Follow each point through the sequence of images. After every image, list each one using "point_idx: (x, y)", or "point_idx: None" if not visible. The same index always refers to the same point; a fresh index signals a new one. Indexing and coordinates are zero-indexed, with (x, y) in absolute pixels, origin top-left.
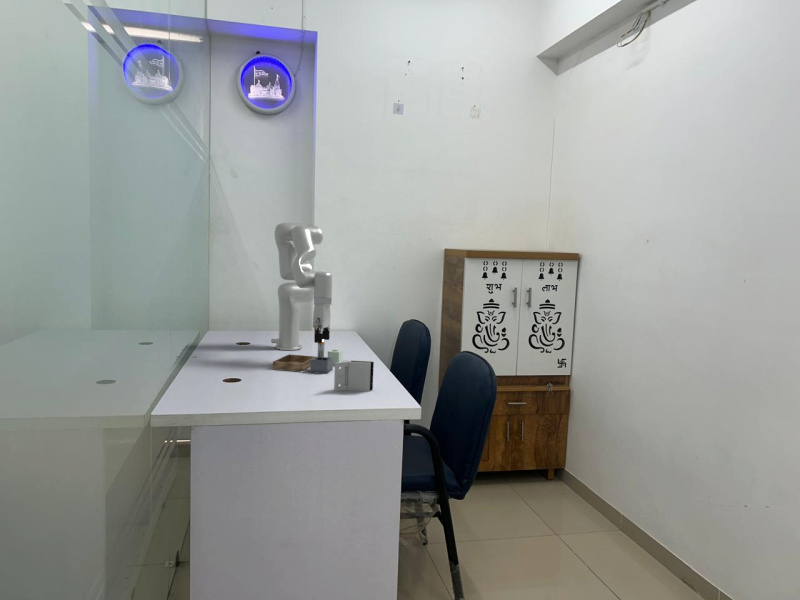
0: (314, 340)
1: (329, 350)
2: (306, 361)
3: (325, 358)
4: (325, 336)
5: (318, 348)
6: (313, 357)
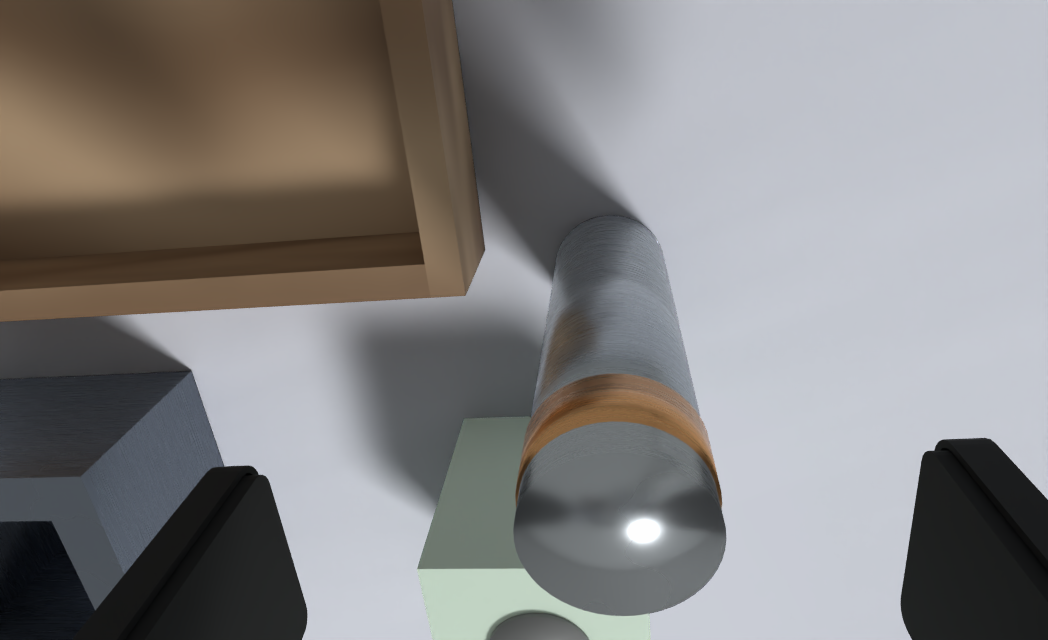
0: (188, 499)
1: (517, 569)
2: (11, 305)
3: (98, 602)
4: (960, 609)
5: (546, 356)
6: (362, 274)
